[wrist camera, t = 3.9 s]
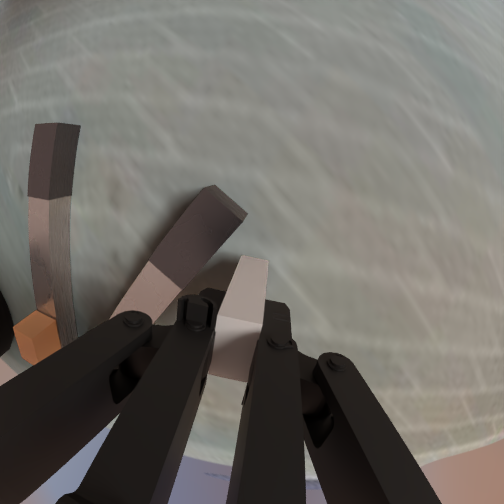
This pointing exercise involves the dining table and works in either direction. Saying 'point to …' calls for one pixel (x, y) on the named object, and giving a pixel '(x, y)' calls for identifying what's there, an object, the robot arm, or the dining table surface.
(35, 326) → the tab
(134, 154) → the dining table surface
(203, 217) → the tongs upper
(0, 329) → the coffee jar
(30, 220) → the tongs lower
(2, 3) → the dining table surface
